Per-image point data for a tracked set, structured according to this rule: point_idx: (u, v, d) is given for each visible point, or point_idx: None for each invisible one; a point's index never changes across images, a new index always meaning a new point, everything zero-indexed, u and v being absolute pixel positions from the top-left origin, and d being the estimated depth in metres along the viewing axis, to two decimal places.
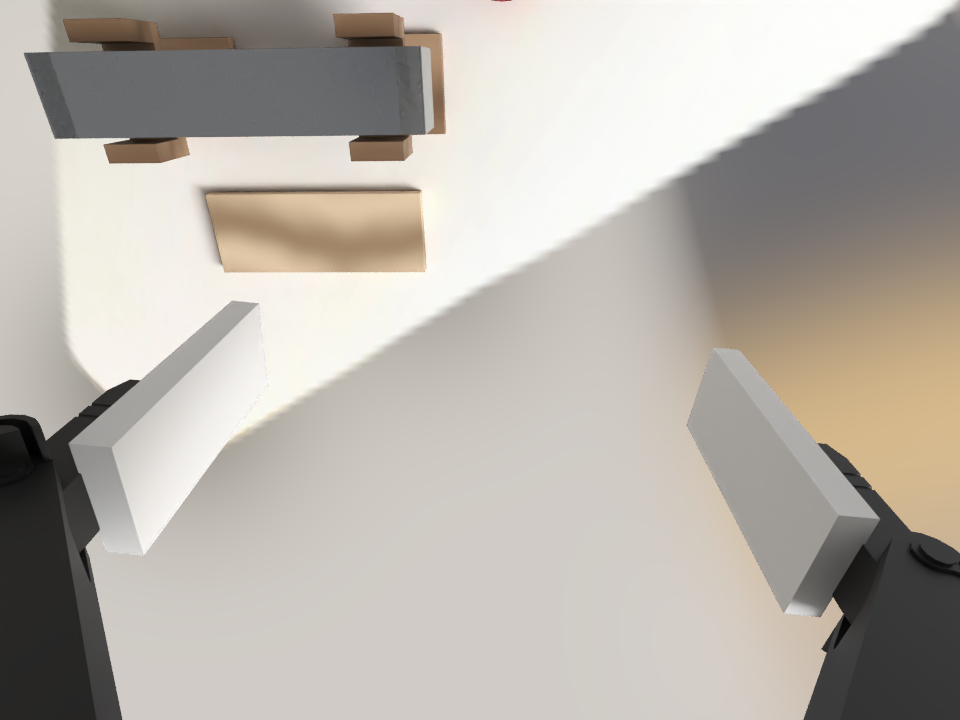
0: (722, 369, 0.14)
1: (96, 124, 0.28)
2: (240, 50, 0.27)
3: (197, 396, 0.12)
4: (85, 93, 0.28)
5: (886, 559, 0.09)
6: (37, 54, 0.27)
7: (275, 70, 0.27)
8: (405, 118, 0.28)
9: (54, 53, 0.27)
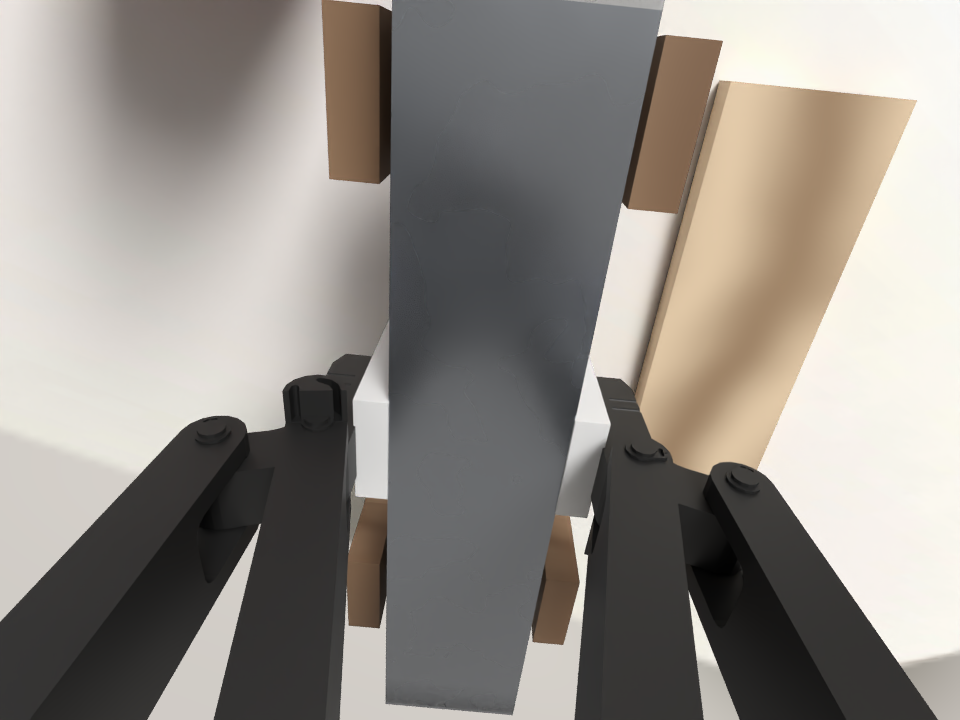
0: None
1: (500, 665, 0.16)
2: (390, 413, 0.12)
3: None
4: (449, 660, 0.16)
5: (611, 466, 0.10)
6: (388, 691, 0.17)
7: (435, 352, 0.11)
8: None
9: (387, 674, 0.16)
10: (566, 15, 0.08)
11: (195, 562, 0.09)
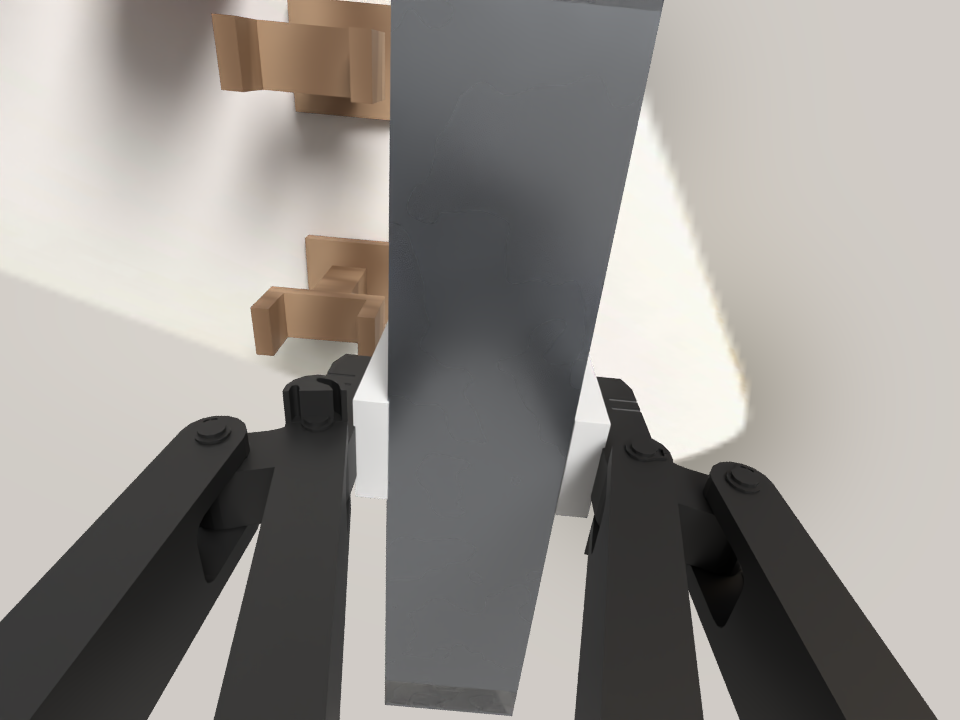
0: None
1: (500, 665, 0.16)
2: (390, 414, 0.12)
3: None
4: (449, 661, 0.16)
5: (611, 466, 0.10)
6: (387, 692, 0.17)
7: (434, 353, 0.11)
8: None
9: (387, 675, 0.16)
10: (565, 16, 0.08)
11: (195, 562, 0.09)
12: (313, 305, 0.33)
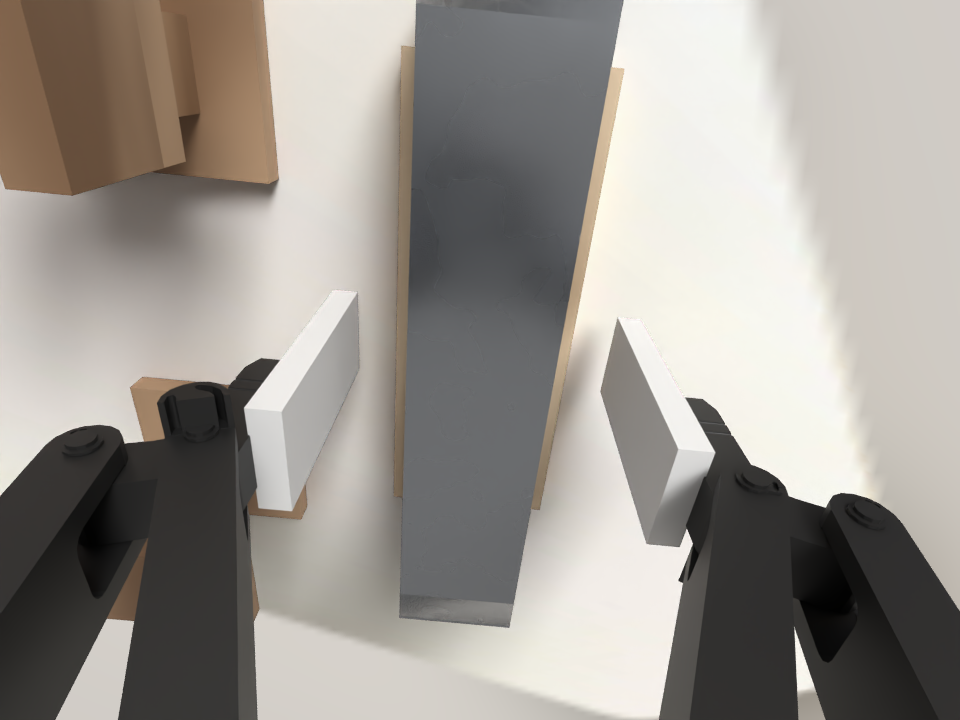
0: (622, 335, 0.16)
1: (498, 578, 0.18)
2: (408, 348, 0.14)
3: (323, 373, 0.14)
4: (455, 575, 0.18)
5: (718, 492, 0.10)
6: (402, 605, 0.19)
7: (445, 295, 0.13)
8: (582, 2, 0.10)
9: (401, 588, 0.19)
10: (547, 28, 0.11)
11: (78, 577, 0.09)
12: None
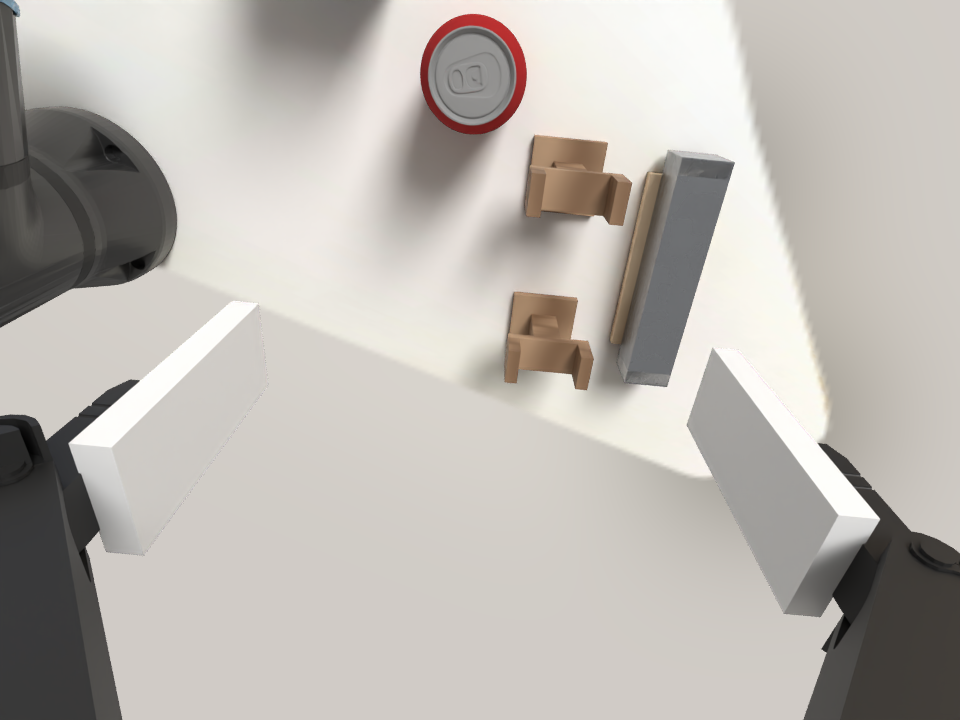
0: (722, 369, 0.14)
1: (666, 362, 0.49)
2: (654, 270, 0.45)
3: (197, 396, 0.12)
4: (650, 361, 0.49)
5: (886, 559, 0.09)
6: (627, 376, 0.50)
7: (669, 252, 0.44)
8: (720, 175, 0.41)
9: (628, 368, 0.49)
10: (710, 180, 0.41)
11: None
12: (539, 347, 0.47)
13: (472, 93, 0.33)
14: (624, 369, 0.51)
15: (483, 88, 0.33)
